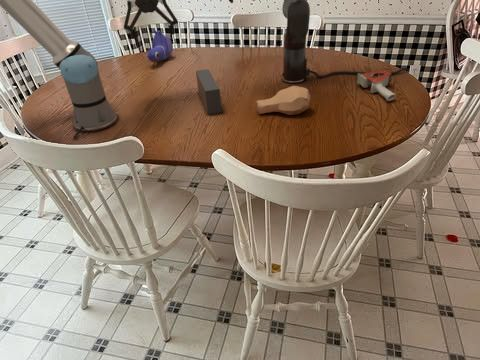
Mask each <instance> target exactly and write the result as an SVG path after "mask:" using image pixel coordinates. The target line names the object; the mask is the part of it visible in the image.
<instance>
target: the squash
mask: <svg viewBox="0 0 480 360" xmlns="http://www.w3.org/2000/svg"><path fill="white" fill-rule="evenodd" d="M311 98H312V97H311V95H310V90H309V89H307V88H306V87H302V86H298V85H292V86H289V87H287V88H283V89H280V90H279V91H277V92H276V94H275V95H274V96H272V97H271V98H265V99H257V100H256V102H255V103H256V107H257V109H256V110H257V113H258V114H259V115H263V114H266V113H273V112H275V113H282V114H284V115H287V116H295V115H300V114H301V113H303V112H305V111H306V110H308V109H309V107H310V102H311Z"/></svg>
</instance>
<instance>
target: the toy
mask: <svg viewBox="0 0 480 360" xmlns="http://www.w3.org/2000/svg"><path fill="white" fill-rule="evenodd" d="M151 33H152V34H153V33H154V35H153V38H152V43H151V48H150V49H147V50H148V51H147V52H146V58H147V59H148V61H150V62H152V63H153V65H154V67H156V66H157V63H158V62H162V61H164V60H166V59H168V58H169V57H170V56H171V55H172V54H173V50H174V46H173V45H174V44H172V43H171V37H169V35H168V34H164V33H163V32H162V31H161V30H158V29H157V30H152V31H151ZM151 33H150V34H151Z"/></svg>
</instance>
